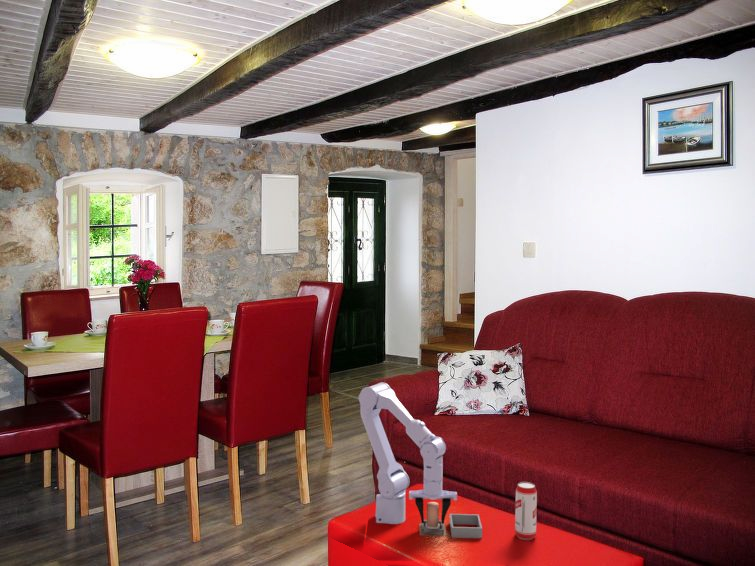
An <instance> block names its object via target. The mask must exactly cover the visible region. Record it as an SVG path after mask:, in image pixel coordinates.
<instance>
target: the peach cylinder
mask: <svg viewBox="0 0 755 566" xmlns="http://www.w3.org/2000/svg"><path fill="white" fill-rule="evenodd" d="M439 509H440V504H439V502H436V501H429V502H427V503H426V520H427V523H426V524H425V528H426V529H440V524H439V521H440V520H439V519H440V518H439V516H440V513H439V512H440V511H439Z"/></svg>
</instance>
